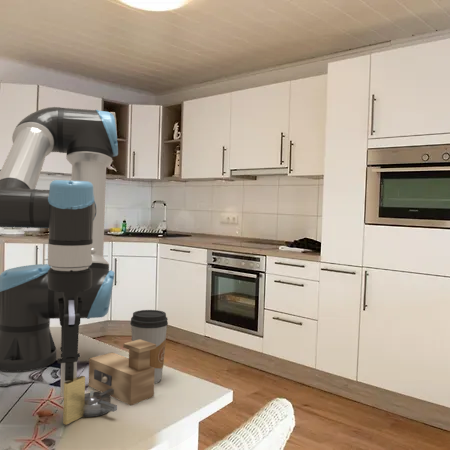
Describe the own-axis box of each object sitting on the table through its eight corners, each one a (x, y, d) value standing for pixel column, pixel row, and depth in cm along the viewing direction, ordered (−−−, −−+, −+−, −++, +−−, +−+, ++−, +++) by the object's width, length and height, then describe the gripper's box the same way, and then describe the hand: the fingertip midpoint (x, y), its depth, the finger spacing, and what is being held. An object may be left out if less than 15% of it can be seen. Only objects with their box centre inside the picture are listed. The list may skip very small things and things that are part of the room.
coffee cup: (158, 388, 102) (161, 319, 101) (122, 384, 103) (124, 316, 103) (170, 375, 110) (173, 311, 109) (137, 371, 112) (139, 308, 111)
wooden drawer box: (84, 387, 101) (85, 337, 100) (112, 378, 106) (113, 330, 106) (126, 407, 92) (127, 352, 92) (154, 396, 98) (156, 344, 97)
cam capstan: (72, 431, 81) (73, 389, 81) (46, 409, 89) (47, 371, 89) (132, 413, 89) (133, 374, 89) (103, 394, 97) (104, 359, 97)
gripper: (95, 272, 80) (93, 407, 82) (89, 261, 92) (86, 379, 94) (48, 273, 77) (46, 413, 79) (47, 262, 89) (46, 384, 91)
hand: (68, 395), depth 86 cm, fingers closed
